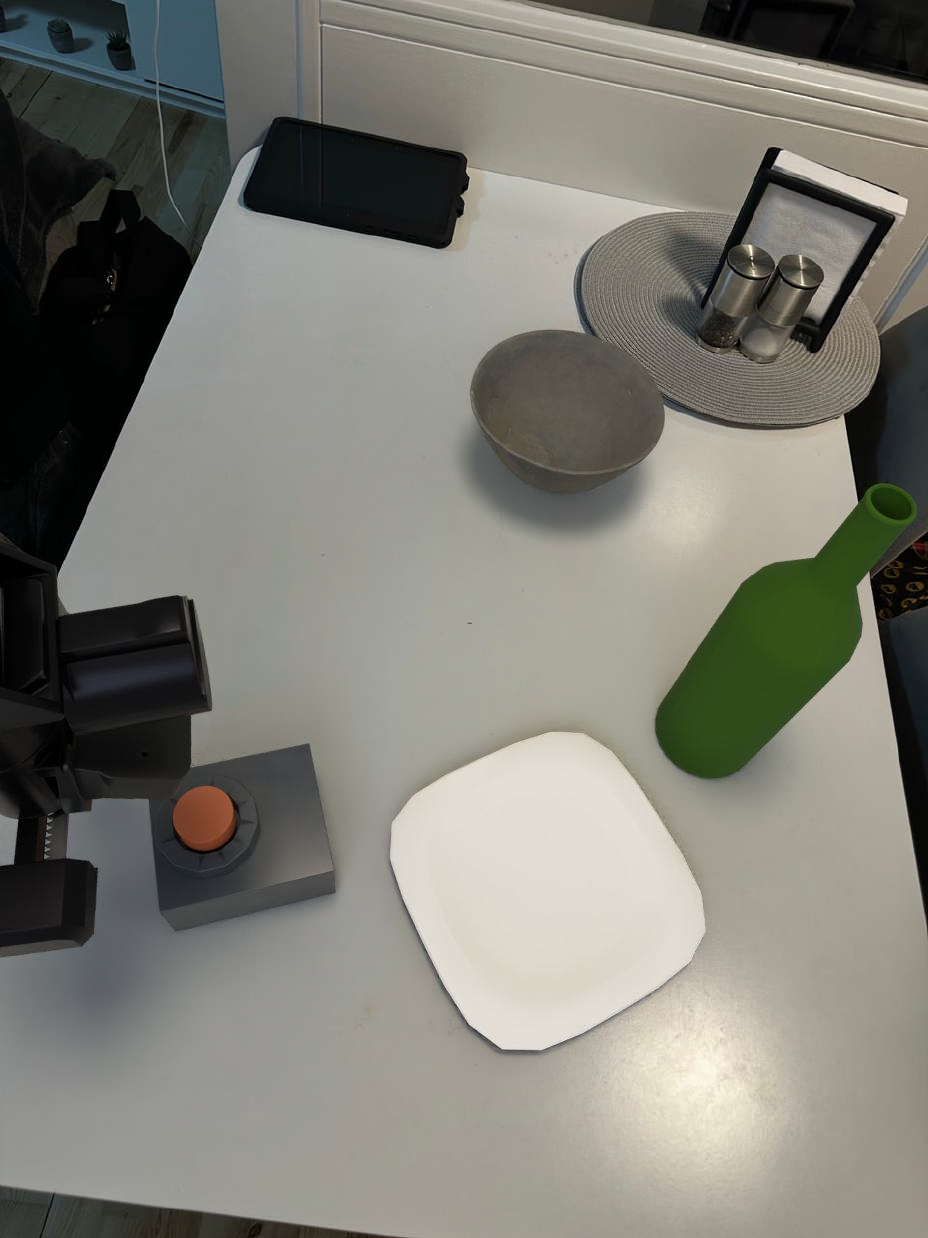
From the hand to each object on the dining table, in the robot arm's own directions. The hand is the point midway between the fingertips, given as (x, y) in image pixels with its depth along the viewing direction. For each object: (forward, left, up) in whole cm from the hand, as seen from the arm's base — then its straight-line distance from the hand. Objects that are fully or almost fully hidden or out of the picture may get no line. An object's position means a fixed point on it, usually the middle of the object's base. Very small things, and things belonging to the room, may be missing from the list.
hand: (79, 822), depth 56 cm
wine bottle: (+49, +1, -13) cm, 51 cm away
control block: (+9, 0, -13) cm, 16 cm away
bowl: (+45, +33, -13) cm, 57 cm away
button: (+7, 0, -5) cm, 9 cm away
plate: (+31, -8, -13) cm, 35 cm away
